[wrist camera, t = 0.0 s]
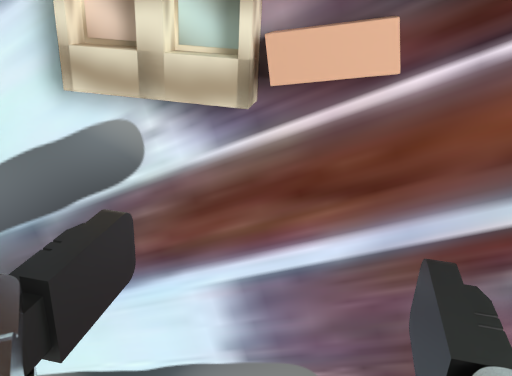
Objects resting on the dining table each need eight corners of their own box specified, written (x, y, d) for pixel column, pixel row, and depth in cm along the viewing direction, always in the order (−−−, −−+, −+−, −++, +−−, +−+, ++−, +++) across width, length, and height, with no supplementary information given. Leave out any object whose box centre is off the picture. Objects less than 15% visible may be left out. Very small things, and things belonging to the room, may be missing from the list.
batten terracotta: (279, 78, 40) (270, 86, 36) (273, 31, 38) (264, 34, 35) (396, 66, 37) (400, 73, 34) (395, 15, 36) (399, 17, 32)
